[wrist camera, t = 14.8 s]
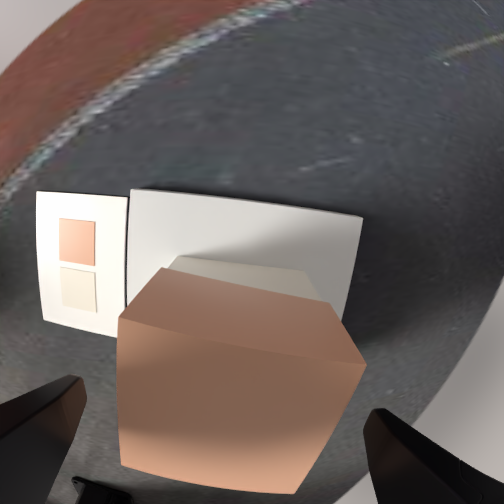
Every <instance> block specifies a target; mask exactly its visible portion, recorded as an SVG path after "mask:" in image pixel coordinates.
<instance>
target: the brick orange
mask: <svg viewBox="0 0 504 504" xmlns="http://www.w3.org/2000/svg"><path fill="white" fill-rule="evenodd" d="M366 365H367V364H366V362H365V361H364V359H363V357H362V356H361V354H360V352H359V351H358V349H357V347H356V346H355V344H354V342H353V341H352V339H351V337H350V336H349V334H348V332H347V331H346V329H345V327H344V326H343V324H342V322H341V321H340V319H339V317H338V316H337V314H336V313H335V311H334V309H333V308H332V306H331V304H330V303H328V302H323V301H317V300H312V299H307V298H302V297H297V296H292V295H287V294H282V293H277V292H272V291H267V290H262V289H258V288H253V287H248V286H243V285H239V284H234V283H230V282H225V281H220V280H216V279H211V278H207V277H202V276H198V275H193V274H189V273H185V272H180V271H176V270H172V269H167V268H163V267H161V268H160V269H159V270H158V271H157V272H156V274H155V275H154V276H153V277H152V278H151V279H150V280H149V282H148V283H147V284H146V285H145V286H144V287H143V288H142V290H141V291H140V292H139V293H138V294H137V295H136V296H135V298H134V299H133V300H132V301H131V302H130V303H129V305H128V306H127V307H126V308H125V309H124V311H123V312H122V313H121V314H120V315H119V316H118V330H117V411H118V430H119V444H120V456H121V465H123V466H126V467H129V468H133V469H136V470H140V471H143V472H147V473H150V474H154V475H158V476H162V477H166V478H171V479H175V480H180V481H184V482H189V483H194V484H200V485H206V486H212V487H218V488H225V489H233V490H242V491H252V492H264V493H281V494H294V493H295V492H296V490H297V489H298V487H299V486H300V484H301V483H302V481H303V480H304V478H305V477H306V475H307V474H308V472H309V471H310V469H311V467H312V466H313V464H314V463H315V461H316V459H317V458H318V456H319V454H320V453H321V451H322V450H323V448H324V446H325V444H326V443H327V441H328V439H329V438H330V436H331V434H332V432H333V431H334V429H335V427H336V425H337V423H338V421H339V420H340V418H341V416H342V414H343V412H344V410H345V408H346V406H347V405H348V403H349V401H350V399H351V397H352V395H353V393H354V391H355V389H356V387H357V385H358V383H359V380H360V378H361V376H362V374H363V372H364V370H365V368H366Z"/></svg>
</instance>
